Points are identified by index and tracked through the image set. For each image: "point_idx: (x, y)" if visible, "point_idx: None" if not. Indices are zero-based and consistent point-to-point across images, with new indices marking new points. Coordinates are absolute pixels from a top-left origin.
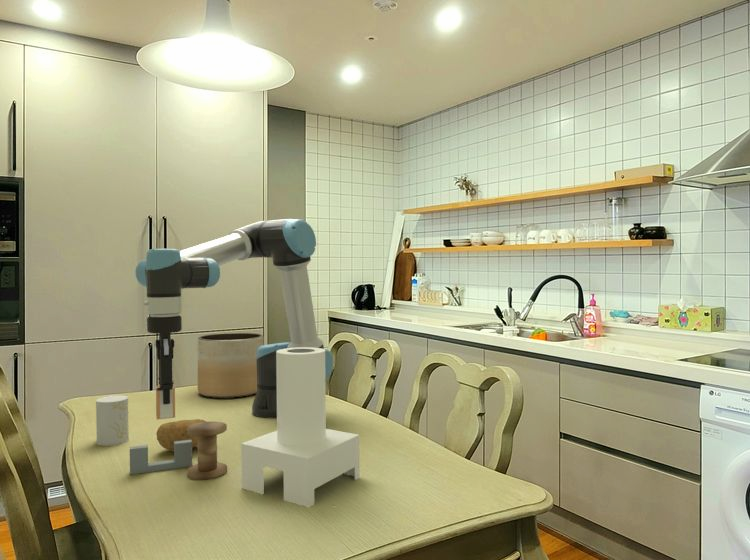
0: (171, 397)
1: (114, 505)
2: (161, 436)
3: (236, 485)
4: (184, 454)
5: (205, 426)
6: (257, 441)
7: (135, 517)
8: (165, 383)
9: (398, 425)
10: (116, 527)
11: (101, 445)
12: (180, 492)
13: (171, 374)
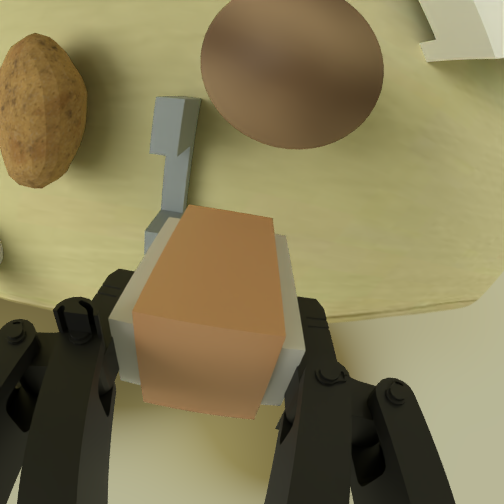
0: (297, 309)
1: (342, 292)
2: (60, 176)
3: (405, 60)
4: (190, 121)
5: (288, 65)
6: (497, 17)
7: (413, 271)
8: (377, 440)
9: None
10: (422, 297)
11: (1, 261)
12: (368, 175)
13: (442, 480)
